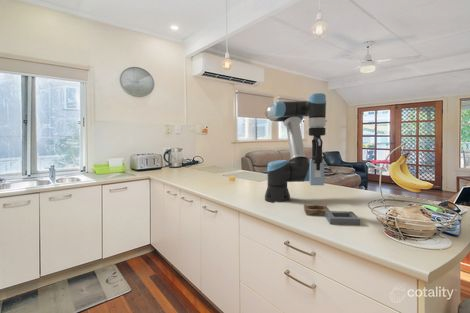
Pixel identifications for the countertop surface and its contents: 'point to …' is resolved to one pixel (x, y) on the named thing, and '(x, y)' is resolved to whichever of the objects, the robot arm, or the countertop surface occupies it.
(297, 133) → the robot arm
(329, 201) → the countertop surface
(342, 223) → the port
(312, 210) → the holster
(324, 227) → the countertop surface
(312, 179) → the plug
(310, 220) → the countertop surface
